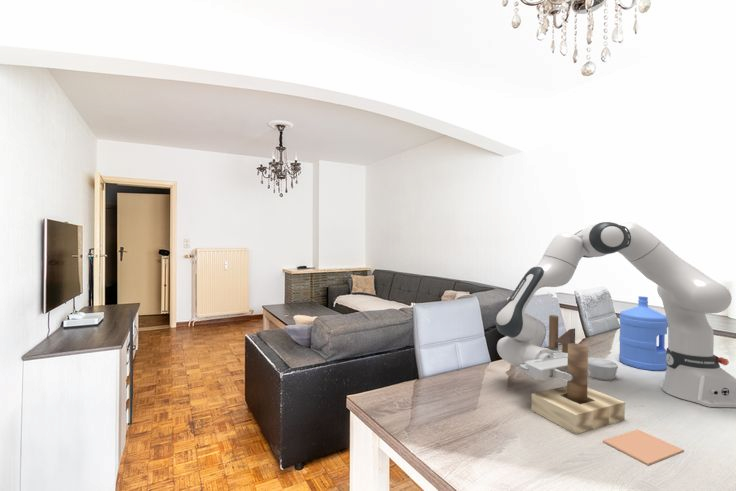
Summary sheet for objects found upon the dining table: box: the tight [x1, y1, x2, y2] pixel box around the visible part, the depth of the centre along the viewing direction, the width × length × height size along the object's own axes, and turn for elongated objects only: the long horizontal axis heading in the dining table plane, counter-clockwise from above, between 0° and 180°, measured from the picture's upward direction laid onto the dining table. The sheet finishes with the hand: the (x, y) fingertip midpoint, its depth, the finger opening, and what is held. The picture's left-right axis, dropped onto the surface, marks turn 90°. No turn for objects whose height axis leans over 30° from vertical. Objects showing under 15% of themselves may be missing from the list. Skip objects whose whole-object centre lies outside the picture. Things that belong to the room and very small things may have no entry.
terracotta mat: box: [602, 428, 685, 466], centre depth 85 cm, size 14×10×1 cm
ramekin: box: [588, 356, 619, 381], centre depth 132 cm, size 11×11×5 cm
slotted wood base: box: [531, 385, 626, 435], centre depth 101 cm, size 20×14×5 cm
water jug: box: [618, 296, 668, 371], centre depth 145 cm, size 16×16×28 cm
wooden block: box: [547, 314, 576, 353], centre depth 151 cm, size 4×11×18 cm, turn 26°
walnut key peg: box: [566, 342, 589, 404], centre depth 101 cm, size 5×5×20 cm
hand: (580, 376), depth 100 cm, fingers open, 5 cm apart
